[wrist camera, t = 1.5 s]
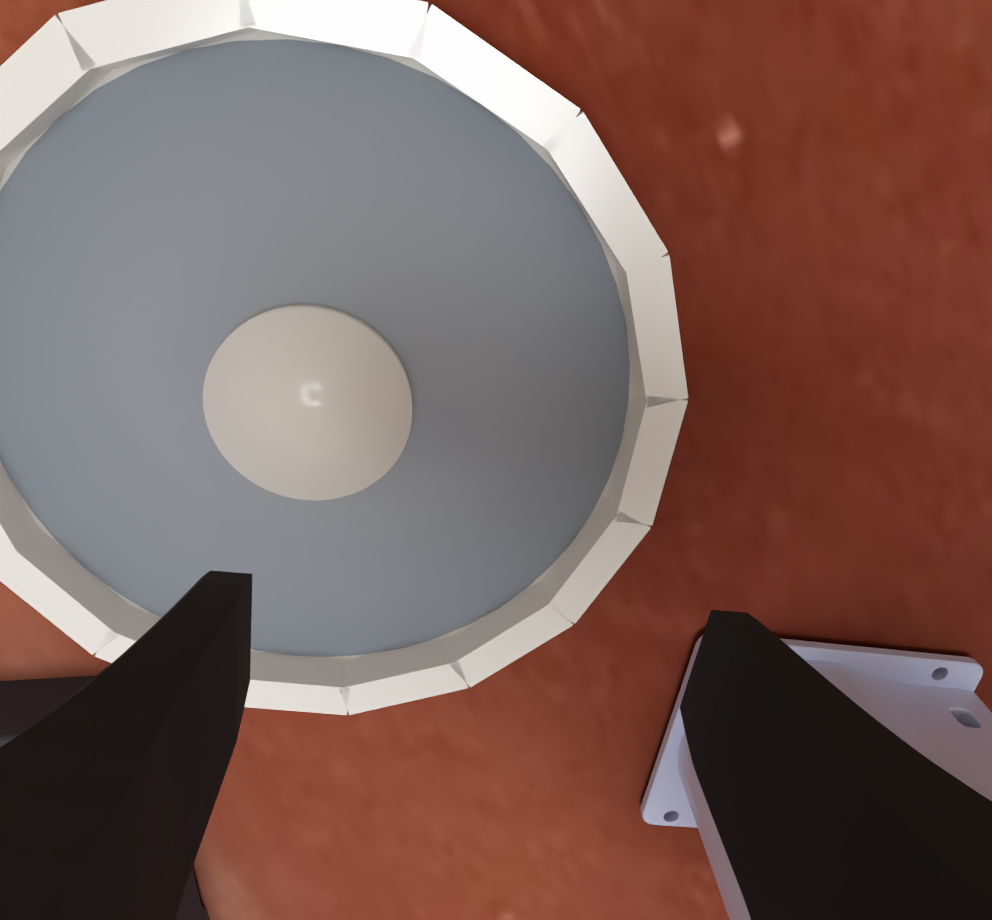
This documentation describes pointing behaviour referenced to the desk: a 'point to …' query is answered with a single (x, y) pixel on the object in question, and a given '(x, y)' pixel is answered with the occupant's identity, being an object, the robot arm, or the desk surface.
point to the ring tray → (321, 341)
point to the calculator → (25, 702)
